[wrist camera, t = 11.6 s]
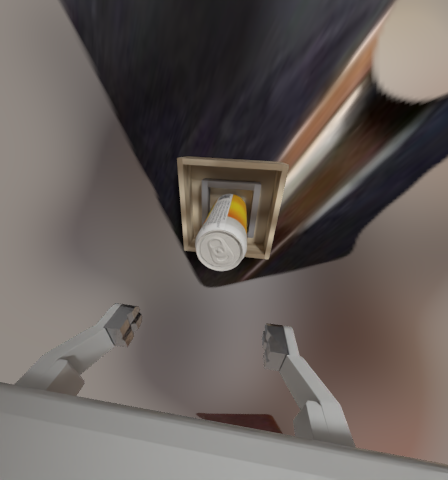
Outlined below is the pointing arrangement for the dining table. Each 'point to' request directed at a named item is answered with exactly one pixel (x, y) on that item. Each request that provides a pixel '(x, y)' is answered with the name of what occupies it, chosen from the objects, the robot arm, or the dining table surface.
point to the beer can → (223, 234)
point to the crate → (232, 182)
